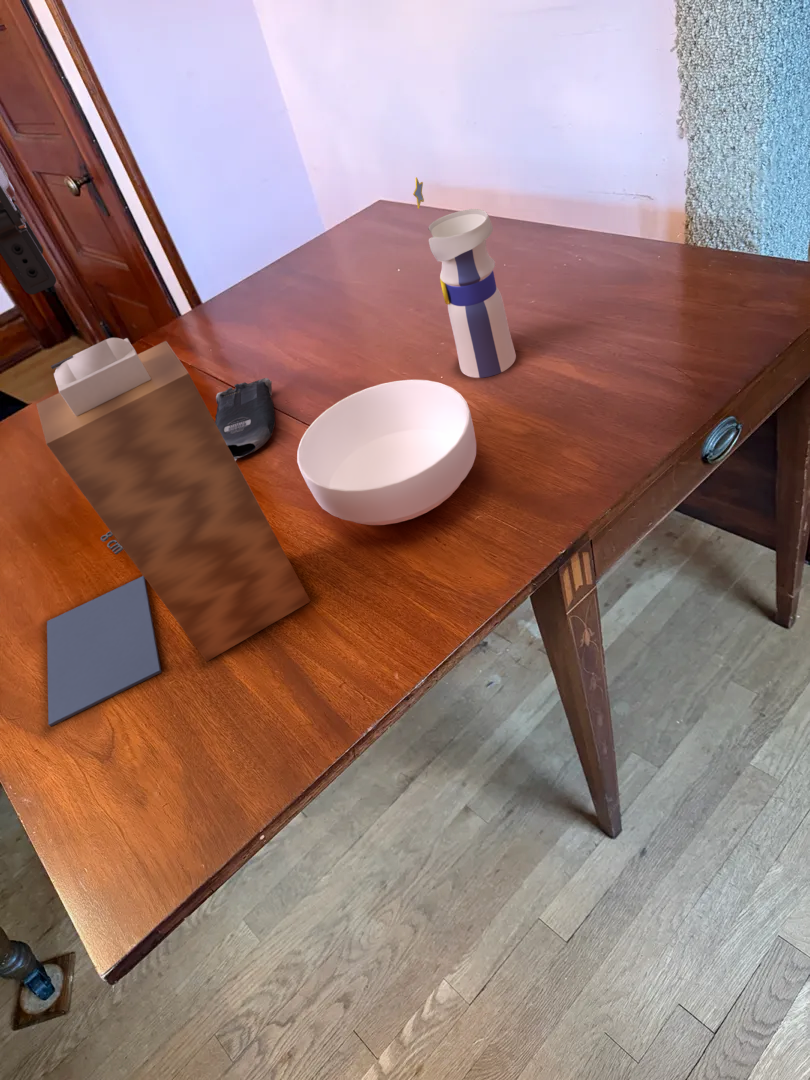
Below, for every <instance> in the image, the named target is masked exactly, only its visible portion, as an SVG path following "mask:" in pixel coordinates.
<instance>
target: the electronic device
mask: <svg viewBox="0 0 810 1080" xmlns="http://www.w3.org/2000/svg"><path fill="white" fill-rule="evenodd" d="M272 384H273V381H272V380H271V379H270V378H268V377H263V378H260V379H258V380H254V381H252V382H250V383H249V382H248V383H247V382H245V381H244V382H241V383H236V384H234V387H235V388H234V389H233V387H232V386H230V387H228V388H227V389H226V390H224V391H223V390H222V391H219V392H217V394H216V396H215V401H216V404H217V405H216V406H217V407H216V413H215V420H214V422H215V423H216V425H217V427H218V429H219V431H220V433H221V435H222V437H223V438H224V440H225V442H226V444H227V446H228V448H229V450H230V451H231V453H232V455H233V457H234V459H235V461H236V462H237V460H238V459H240V458H243V457H245V456H248V455H250V454H252V453H254V452H256V451H257V450H259V449H260V448H262V447H264V445H265V444H266V443H267V442H269V440H270V439H271V438H272V435H273V433H274V429H275V426H276V424H275V423H276V414H275V407H274V402H273V398H272V396H273V394H272V393H273V391H272V390H273V389H272V387H273V385H272Z"/></svg>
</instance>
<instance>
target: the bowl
mask: <svg viewBox="0 0 810 1080" xmlns="http://www.w3.org/2000/svg"><path fill="white" fill-rule="evenodd" d="M296 453H297V454H296V463H297V465H298V469H299V471H300V473H301V476H302V477H303V479H304V481H305V484H306V486H307V488H308V490H309V491H310V493H311V494H312V496H313V498H314V500H315V502H317V504H318V505H319V506H320V508H321V509H322V510H324V511H325V512H327V513H328V514H330V515H331V516H333V517H335V518H339V519H341V520H343V521H349V522H353V523H355V524H360V525H361V524H362V525H367V526H385V525H392V524H398V523H402V522H406V521H409V520H412V519H415V518H418V517H420V516H422V515H424V514H426V513H428V512H430V511H432V510H433V509H435V508H437V507H439V506H440V505H441V504H443V502H445V501H446V500H448V499H449V498H450V497H451V496H452V495H453V493H455V491H456V490H457V489H458V488H459V487H460V485H461V483H462V482H463V481H464V480H465V479H466V478H467V476H468V474H469V473H470V471H471V469H472V467H474V463H475V460H476V456H477V439H476V433H475V427H474V423H473V417H472V413H471V410H470V407H469V405H468V402H467V400H466V398H464V396H463V395H462V393H460V392H459V391H457V390H456V389H455V388H453V387H452V386H450V385H447V384H444V383H441V382H438V381H433V380H430V379H429V380H428V379H403V380H402V379H401V380H395V381H394V380H393V381H389V382H383V383H380V384H376V385H374V386H370V387H367V388H365V389H362V390H358V391H357V392H355V393H352V394H350V395H348V396H347V397H344V398H343V399H340V400H339V401H336V402H335V404H333V405H332V406H330V407H328V408H327V409H326V410H324V411H323V412H322V413H321V414H320V415H319V416H318V417H317V418H315V419H314V421H313V422H312V423H311V424H310V425H309V426H308V428H307V429H306V430H305V432H304V434H303V435H302V437H301V439H300V441H299V444H298V446H297V451H296Z"/></svg>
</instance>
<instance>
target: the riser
mask: <svg viewBox="0 0 810 1080" xmlns="http://www.w3.org/2000/svg"><path fill="white" fill-rule="evenodd" d="M137 355H138V357H139V359H140V361H141V362H142V364H143V366H144V367H145V369H146V371H147V373H148V374H149V376H150V378H151V380H149V381H147V382H145V383H143V384H141V385H139V386H137V387H135V388H133V389H131V390H129V391H127V392H125V393H123V394H121V395H119V396H117V397H115V398H113V399H111V400H109V401H107V402H105V403H103V404H101V405H99V406H97V407H95V408H93V409H91V410H89V411H87V412H84V413H82V414H80V415H78V416H75V414H74V413H73V411H72V410H71V408H70V407H69V406H68V404H67V403H66V401H65V400H64V398H63V397H62V395H61V394H60V392H58V393H56V394H53V395H52V396H50V397H47V398H45V399H43V400H42V401H39V402H37V403H36V405H35V406H36V408H37V413H38V416H39V421H40V424H41V428H42V433H43V436H44V440H45V445H46V446H47V447H48V449H49V450H50V451H51V453H52V454H53V455H54V456H55V458H56V459H57V461H58V462H59V464H60V465H61V466H62V467H63V469H64V470H65V472H66V473H67V474H68V476H69V477H70V478H71V480H72V481H73V482H74V484H75V485H76V486H77V488H78V489H79V490H80V492H81V493H82V495H83V496H84V497H85V499H86V500H87V502H88V503H89V504H90V505H91V507H92V509H94V511H95V512H96V513H97V515H98V516H99V517H100V519H101V521H102V522H103V523H104V525H105V526H106V527H107V529H108V530H109V532H110V531H111V532H112V534H113V536H114V538H115V540H116V541H117V542H118V543H119V544H120V545H121V546H122V547H123V551H124V552H125V553H126V554H127V555H128V557H129V558H130V560H131V561H132V562H133V564H134V565H135V567H136V568H137V569H138V570H139V572H140V573H141V575H142V576H144V577H145V581H146V582H147V583H148V584H149V585H150V587H151V588H152V589H153V591H154V592H155V594H156V595H157V596H158V598H159V599H160V600H161V602H162V603H163V604H164V606H165V607H166V608H167V610H168V611H169V613H170V614H171V615H172V616H173V618H174V620H175V621H176V622H177V623H178V625H179V626H180V628H182V630H183V631H184V633H185V634H186V636H187V637H188V638H189V639H190V641H191V642H192V643H193V645H194V647H195V648H196V649H197V650H198V652H199V653H200V655H201V656H202V657H203V659H204V660H205V661H206V662H209V661H212V660H213V659H214V658H217V657H218V656H219V655H221V654H223V653H225V652H226V651H228V650H230V649H231V648H233V647H235V646H237V645H239V644H240V643H242V642H244V641H245V640H247V639H248V638H250V637H253V636H254V635H256V634H258V633H259V632H261V631H262V630H264V629H266V628H268V627H269V626H271V625H273V624H274V623H276V622H278V621H279V620H281V619H284V617H286V616H288V615H290V614H292V613H293V612H295V611H297V610H299V609H300V608H302V607H304V606H306V605H307V604H309V603H311V599H310V597H309V596H308V594H307V591H306V590H305V588H304V586H303V584H302V582H301V580H300V579H299V577H298V575H297V573H296V572H295V570H294V568H293V565H292V564H291V562H290V560H289V558H288V557H287V554H286V552H285V551H284V548H283V547H282V545H281V543H280V541H279V540H278V537H277V535H276V534H275V532H274V530H273V528H272V526H271V525H270V523H269V520H268V519H267V517H266V515H265V513H264V512H263V509H262V508H261V506H260V504H259V501H258V500H257V498H256V496H255V495H254V492H253V491H252V489H251V487H250V484H249V483H248V481H247V480H246V478H245V475H244V474H243V472H242V471H241V468H240V466H239V465H238V463H237V460H236V461H235V459H234V457H233V455H232V453H231V451H230V450H229V448H228V446H227V444H226V442H225V440H224V438H223V437H222V435H221V433H220V431H219V429H218V427H217V425H216V423H215V420H214V418H213V415H212V414H211V412H210V410H209V408H208V407H207V404H206V402H205V401H204V399H203V397H202V395H201V394H200V392H199V390H198V388H197V386H196V385H195V382H194V380H193V378H192V377H191V374H190V372H189V371H188V370H187V368H186V367H185V366H184V364H183V362H182V361H181V359H179V357H178V356H177V354H176V352H175V351H174V350H173V349H172V347H171V346H170V344H169V342H168V341H167V340H164V341H162V342H160V343H158V344H156V345H155V346H152V347H150V348H148V349H146V350H143V351H142V352H140V353H137Z"/></svg>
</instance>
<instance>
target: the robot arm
mask: <svg viewBox="0 0 810 1080" xmlns="http://www.w3.org/2000/svg"><path fill="white" fill-rule="evenodd" d="M15 193H16V192H15V189H14V186H13V185H12V183H11V181H10V180H9V174H8V171H6V169H5V167H4V165H3V163H2V162H1V161H0V255H1V257H2V258H3V260H4V261H5V262H6V264H7V266H8V268H9V269H10V270H11V272H12V273H13V275H14V277H15V278H16V280H17V281H18V283H19V285H20V286H21V288H22V289H23V290H24V292H25V293H27V294H28V295H37V294H38V293H41V292H43V291H45V290H47V289H50V288H52V287H53V286H55V285H56V283H57V278H56V275H55V273H54V271H53V270H52V268H51V266H50V265H49V263H48V262H47V260H46V259H45V257H44V255H43V253H44V248H43V246H42V244H41V242H40V240H39V239H38V237H37V236H36V234H35V233H34V231H33V229H32V228H31V226H30V224H29V223H28V221H27V219H26V217H25V216H24V214H23V213H22V211H21V209H20V207H19V205H18V204H17V203H16V202H17V200H16V198H15V196H16V194H15Z"/></svg>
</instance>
